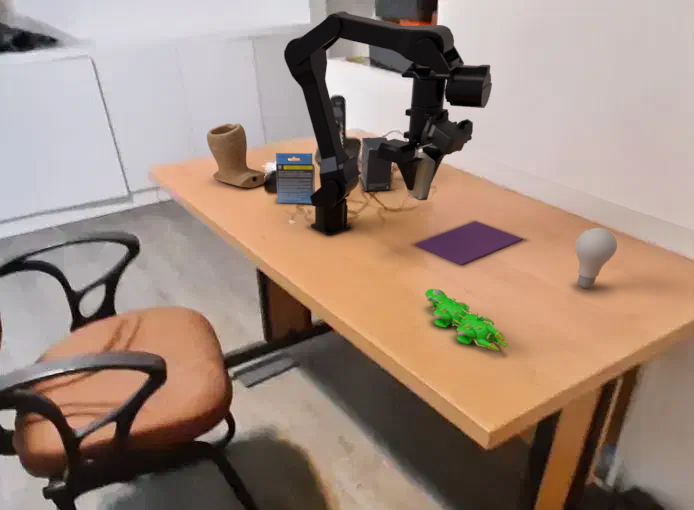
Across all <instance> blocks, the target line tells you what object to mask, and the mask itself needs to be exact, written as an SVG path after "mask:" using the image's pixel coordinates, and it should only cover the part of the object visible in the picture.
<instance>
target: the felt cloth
mask: <svg viewBox="0 0 694 510" xmlns="http://www.w3.org/2000/svg"><path fill="white" fill-rule="evenodd" d="M523 240H524V238H522V237H520V236H517V235H515V234H511V233H508V232H506V231H504V230H501V229H498V228H495V227H493V226H489V225H487V224H484V223H482V222H479V221H476V220H474V221H472V222H469V223H466V224H463V225H461V226H458V227H455V228H453V229H450V230H448V231H446V232H443V233H440V234H438V235H434V236H432V237H430V238H427V239H424V240H422V241H419V242H416V243H415V244H414V245H415V246H416V247H419V248H421V249H423V250H426V251H428V252H430V253H431V254H432V253H433V254H434V255H437V256H438V257H440V258H441V257H442V258H443V259H446V260H448V261H450V262H453V263H455V264H457V265H460V266H463V265H466V264H468V263H470V262H473V261H475V260H478V259H480V258H483V257H485V256H488V255H490V254H492V253H495V252H497V251H500V250H502V249H505V248H507V247H510V246H512V245H514V244H516V243H519V242H521V241H523Z"/></svg>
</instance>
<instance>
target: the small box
mask: <svg viewBox="0 0 694 510" xmlns="http://www.w3.org/2000/svg"><path fill="white" fill-rule="evenodd" d="M385 141H388V138H387V137H362V138H361V158H360V159H361V160H360V172H361V174H360V175H359V180H360V181H361V184H362V186H363V189H364V191H365V192H373V191H374V192H377V191H379V192H381V191H390V190H391V181H392V169H393V167H392V166H393V162H390V161H387V160H383V159H380V158H377V151H378V146H379V145H380V144H381V143H382V142H385Z"/></svg>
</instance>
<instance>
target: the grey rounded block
mask: <svg viewBox="0 0 694 510" xmlns="http://www.w3.org/2000/svg"><path fill="white" fill-rule="evenodd" d="M418 157H420V158H423V160H422V161H421V162H420V163H419V164H418V165H417V170H416V177H415V184H414V188H413V190H412V191H410V190H408V189H407V187H406V186H405V188H406V191H407V192H408V195H407V196H408V198H410V199H412V200H417V201H427V200H428V197H429V194H430V191H431V185H432V183H431V181H432V177H433V172H434V168H435V161H434V160H433V159H431V158H430V157H429V156H428V155H427V154H426V153H424V152H422V151H419V152H418ZM432 182H433V181H432Z"/></svg>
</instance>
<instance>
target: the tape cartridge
mask: <svg viewBox="0 0 694 510" xmlns="http://www.w3.org/2000/svg"><path fill="white" fill-rule="evenodd" d="M293 158H295V159H299V160H289V159H293ZM275 173H276V202H277V204H307V205H308V204H309V205H312V202H311V199H310V196H311V195H312V194H313V193H315V192H316V166H315V164H313V153H311V152H310V153H309V152H308V153H307V152H306V153H305V152H304V153H303V152H275Z"/></svg>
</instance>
